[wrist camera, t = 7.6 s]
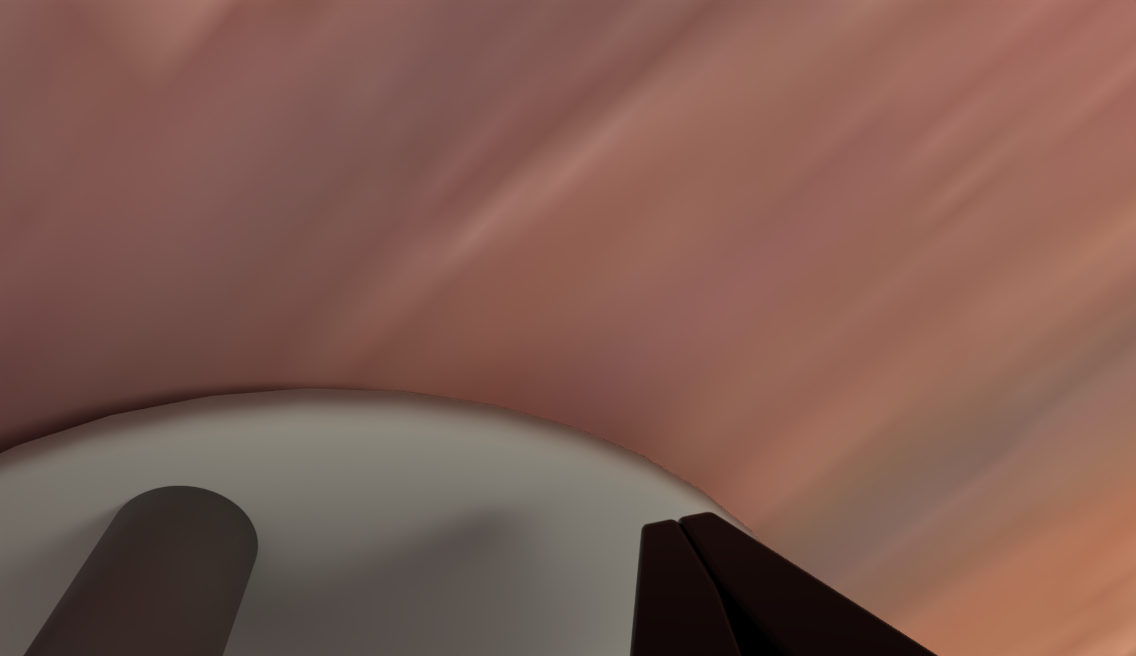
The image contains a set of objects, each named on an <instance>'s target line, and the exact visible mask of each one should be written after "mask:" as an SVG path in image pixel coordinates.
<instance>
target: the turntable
mask: <svg viewBox="0 0 1136 656" xmlns="http://www.w3.org/2000/svg"><path fill="white" fill-rule="evenodd" d="M703 512H712V513H715V514H717V515H718V516H720V517H721V518H723V519H724V520H726V521H728V522H729V523H731V524H732V525H734V526H735V527H737V528H738V529H740V530H742V531H743V532H745V533H746V534H748V535H749V536H751V537H753V538H754V539H756V540H757V541H759V542H760V543H762V542H761V541H760V540H759V539H758V538H757V537H756V535H755V534H754V533H753V532H752V531H751V530H750V529H748V528H747V527H746V526H745V525H744V524H742V523H741V522H740V521H739V520H737V519H736V518H735V517H734V516H733V515H731V514H730V513H729V512H728V511H726V510H725V509H724V508H723V507H722V506H720V505H719V504H718V503H717V502H715V501H714V500H713V499H712V498H711V497H709V496H708V495H707V494H706V493H704V492H703V491H702V490H700V489H698V488H697V487H695V486H693V485H691V484H690V483H688V482H686V481H685V480H683V479H681V478H680V477H678V476H676V475H675V474H673V473H671V472H669V471H668V470H666V469H664V468H663V467H661V466H659V465H658V464H656V463H654V462H653V461H651V460H649V459H647V458H646V457H644V456H642V455H640V454H637V453H635V452H632V451H630V450H628V449H625V448H623V447H621V446H618V445H616V444H613V443H611V442H609V441H606V440H604V439H601V438H599V437H597V436H594V435H592V434H589V433H587V432H585V431H582V430H580V429H577V428H575V427H573V426H569V425H565V424H562V423H558V422H554V421H551V420H547V419H543V418H540V417H536V416H532V415H529V414H525V413H521V412H518V411H514V410H511V409H507V408H503V407H500V406H496V405H492V404H486V403H479V402H472V401H465V400H459V399H452V398H445V397H439V396H432V395H425V394H418V393H412V392H405V391H381V390H350V389H319V388H303V389H291V390H278V391H266V392H253V393H241V394H228V395H216V396H207V397H202V398H197V399H192V400H187V401H181V402H176V403H171V404H166V405H161V406H156V407H151V408H146V409H140V410H135V411H130V412H125V413H120V414H115V415H110V416H107V417H104V418H101V419H98V420H95V421H92V422H89V423H85V424H82V425H79V426H76V427H73V428H70V429H67V430H64V431H61V432H57V433H54V434H51V435H48V436H45V437H42V438H39V439H36V440H32V441H29V442H26V443H23V444H20V445H17V446H15V447H13V448H11V449H8V450H6V451H4V452H2V453H0V656H630V647H631V636H632V625H633V614H634V603H635V592H636V581H637V570H638V559H639V548H640V537H641V529H642V527H643V526H644V525H645V524H648V523H653V522H658V521H663V520H668V519H673V520H676V521H677V522H678V520H679V519H680V518H681V517H683V516H688V515H693V514H698V513H703ZM762 544H763V543H762Z"/></svg>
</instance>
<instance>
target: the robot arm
mask: <svg viewBox="0 0 1136 656" xmlns="http://www.w3.org/2000/svg"><path fill="white" fill-rule="evenodd" d="M630 656H937V655H936V654H934V653H933V652H931V651H930V650H928V649H927V648H925V647H923V646H922V645H920V644H919V643H917V642H916V641H914V640H912V639H911V638H909V637H908V636H906V635H905V634H903V633H901V632H900V631H898V630H897V629H895V628H894V627H892V626H890V625H889V624H887V623H886V622H884V621H883V620H881V619H880V618H878V617H876V616H875V615H873V614H872V613H870V612H869V611H867V610H865V609H864V608H862V607H861V606H859V605H858V604H856V603H854V602H853V601H851V600H850V599H848V598H847V597H845V596H843V595H842V594H840V593H839V592H837V591H836V590H834V589H832V588H831V587H829V586H828V585H826V584H825V583H823V582H822V581H820V580H818V579H817V578H815V577H814V576H812V575H811V574H809V573H807V572H806V571H804V570H803V569H801V568H800V567H798V566H796V565H795V564H793V563H792V562H790V561H789V560H787V559H785V558H784V557H782V556H781V555H779V554H778V553H776V552H775V551H773V550H771V549H770V548H768V547H767V546H765V545H764V544H762V543H760V542H759V541H757V540H756V539H754V538H753V537H751V536H749V535H748V534H746V533H745V532H743V531H742V530H740V529H738V528H737V527H735V526H734V525H732V524H731V523H729V522H728V521H726V520H724V519H723V518H721V517H720V516H718V515H717V514H715V513H712V512H703V513H698V514H693V515H688V516H683V517H681V518H680V519H679V520H678V522H677V521H676V520H673V519H668V520H663V521H658V522H653V523H648V524H645V525H644V526H643V527H642V529H641V537H640V548H639V559H638V570H637V581H636V592H635V603H634V614H633V625H632V636H631V647H630Z"/></svg>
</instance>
